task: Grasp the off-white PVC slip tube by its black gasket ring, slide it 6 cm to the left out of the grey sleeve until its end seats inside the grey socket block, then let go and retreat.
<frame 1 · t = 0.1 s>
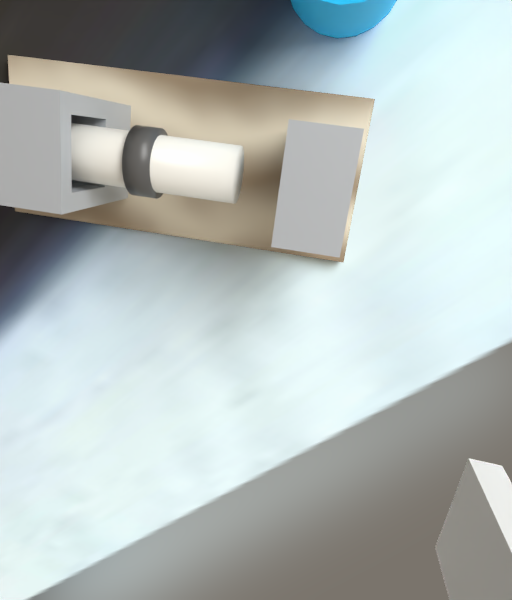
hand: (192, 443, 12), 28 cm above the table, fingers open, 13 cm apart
tube: (106, 156, 30), point 7 cm above the table, slide at 0.0 cm
socket: (318, 179, 35), resting on mount board
mount board: (182, 159, 37), on the table
sleeve: (81, 146, 37), resting on mount board
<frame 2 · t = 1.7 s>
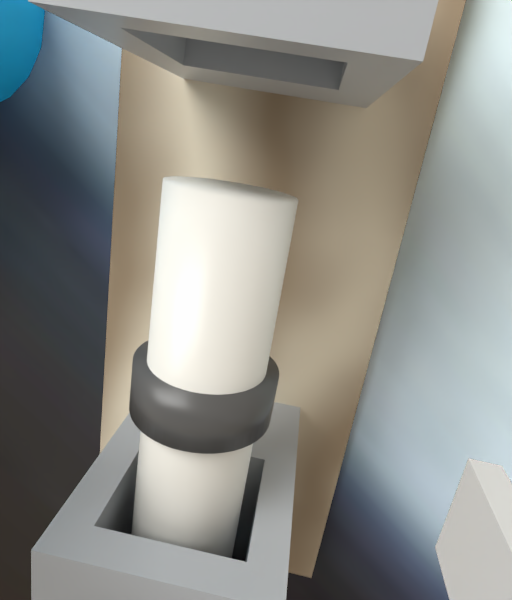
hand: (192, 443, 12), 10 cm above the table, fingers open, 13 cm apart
tube: (194, 459, 15), point 8 cm above the table, slide at 0.0 cm
socket: (282, 33, 17), resting on mount board
mount board: (242, 306, 21), on the table
sleeve: (215, 461, 23), resting on mount board
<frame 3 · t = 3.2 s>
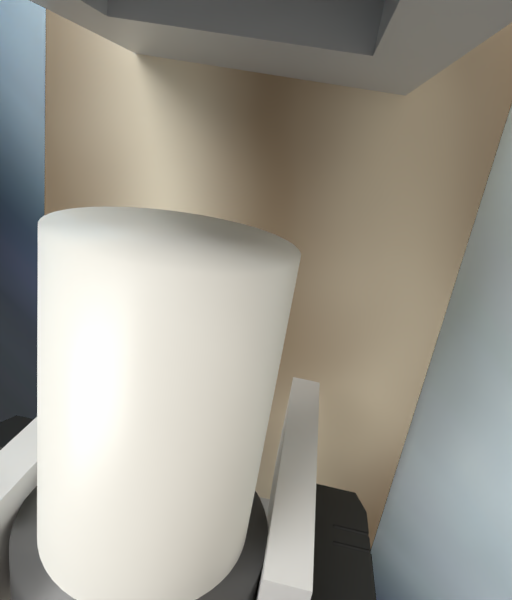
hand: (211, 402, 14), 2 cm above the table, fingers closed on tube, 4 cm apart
mount board: (226, 369, 16), on the table
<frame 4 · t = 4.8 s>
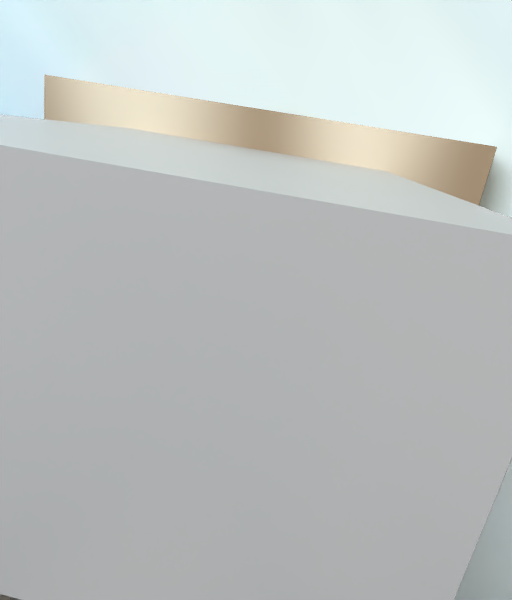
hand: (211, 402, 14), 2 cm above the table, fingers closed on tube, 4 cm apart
socket: (244, 223, 13), resting on mount board
mount board: (206, 505, 18), on the table
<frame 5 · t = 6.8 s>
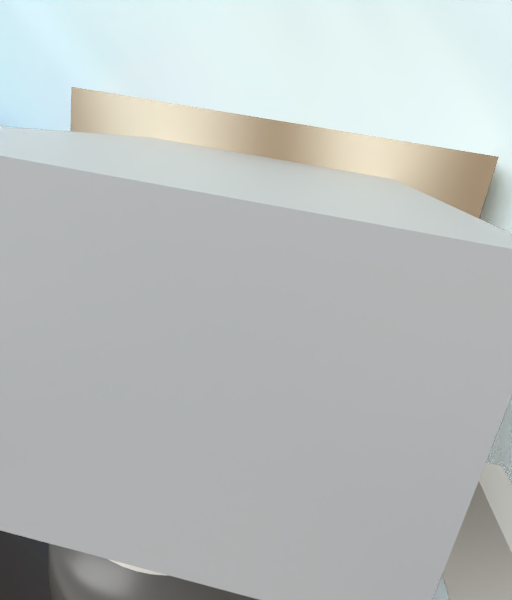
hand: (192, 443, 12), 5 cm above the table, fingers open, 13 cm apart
socket: (258, 227, 14), resting on mount board
mount board: (217, 497, 18), on the table
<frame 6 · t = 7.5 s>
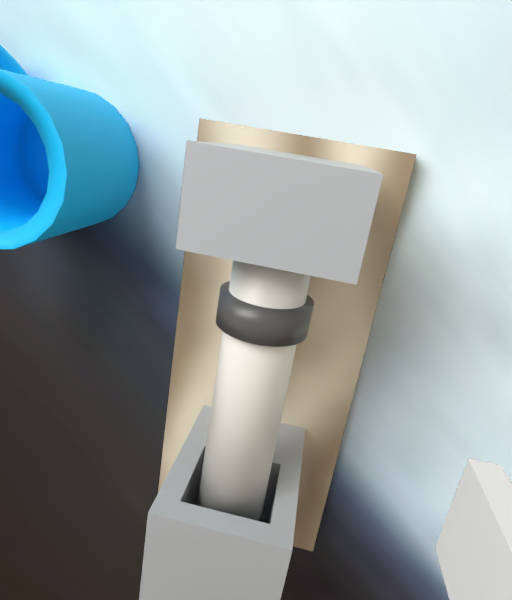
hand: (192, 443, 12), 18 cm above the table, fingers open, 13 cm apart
tube: (255, 363, 23), point 8 cm above the table, slide at 6.0 cm
mug: (61, 130, 29), on the table
socket: (295, 191, 26), resting on mount board
mount board: (265, 357, 31), on the table
sleeve: (245, 465, 32), resting on mount board
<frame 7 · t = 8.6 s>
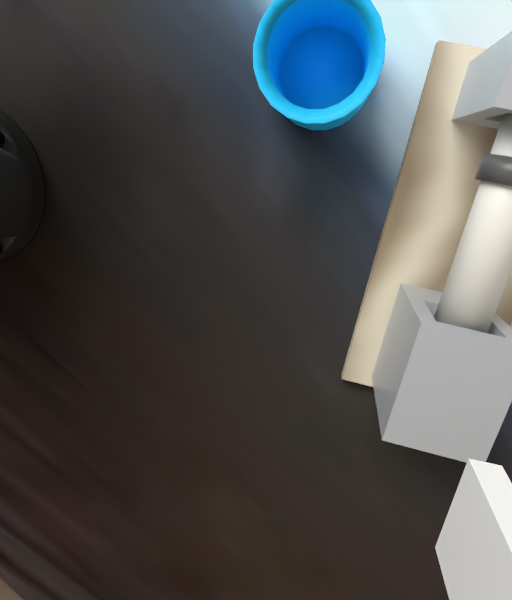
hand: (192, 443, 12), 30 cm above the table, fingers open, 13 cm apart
tube: (499, 217, 30), point 7 cm above the table, slide at 6.0 cm
mug: (311, 52, 36), on the table
socket: (508, 100, 34), resting on mount board
mount board: (455, 243, 38), on the table
sleeve: (427, 335, 40), resting on mount board
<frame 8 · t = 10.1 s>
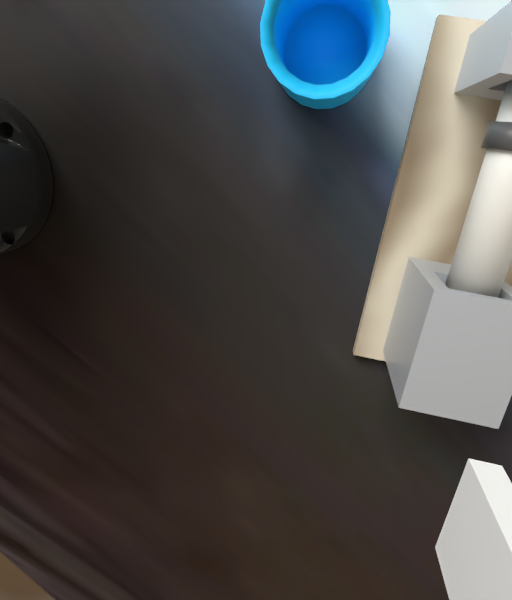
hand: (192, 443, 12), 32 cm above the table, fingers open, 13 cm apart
tube: (506, 184, 31), point 8 cm above the table, slide at 6.0 cm
mug: (313, 31, 37), on the table
socket: (509, 71, 34), resting on mount board
mount board: (461, 216, 39), on the table
sleeve: (436, 307, 41), resting on mount board
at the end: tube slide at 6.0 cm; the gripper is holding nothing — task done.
